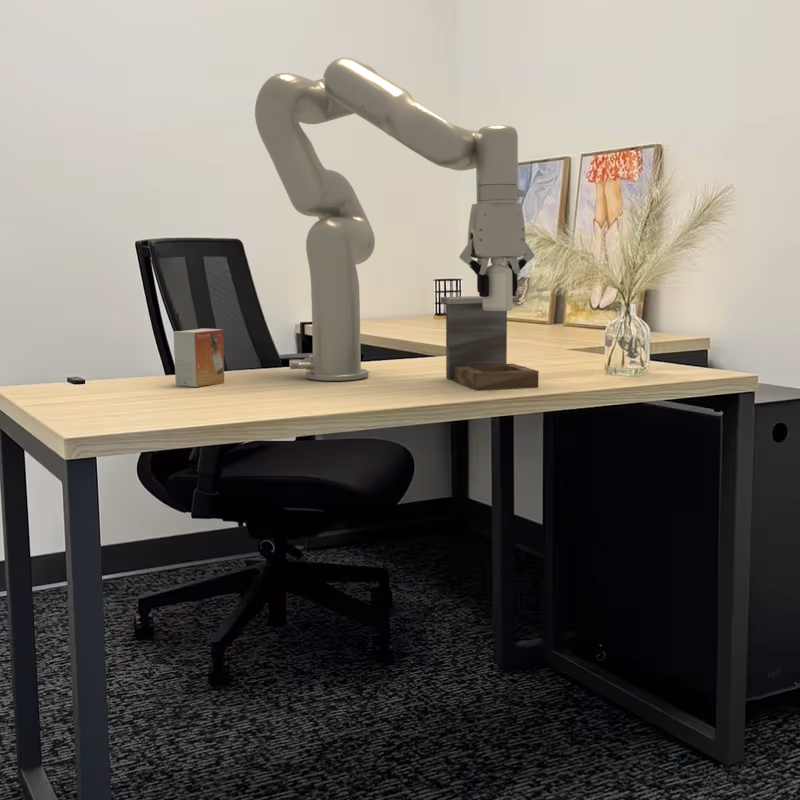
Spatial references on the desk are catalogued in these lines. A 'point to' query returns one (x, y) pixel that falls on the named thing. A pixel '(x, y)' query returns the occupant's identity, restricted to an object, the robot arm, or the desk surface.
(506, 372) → the display stand with tray
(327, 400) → the desk surface
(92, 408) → the desk surface
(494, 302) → the eye dropper bottle
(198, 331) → the small box
